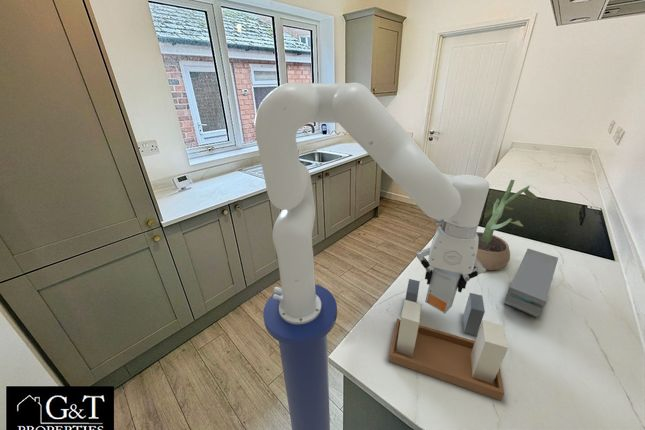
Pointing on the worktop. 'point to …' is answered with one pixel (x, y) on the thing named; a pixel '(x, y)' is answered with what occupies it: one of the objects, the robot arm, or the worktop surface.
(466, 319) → the grey carton
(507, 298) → the grey rectangular box
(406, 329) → the cream box left
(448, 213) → the robot arm
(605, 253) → the worktop surface
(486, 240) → the potted plant
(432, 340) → the tray
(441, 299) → the cosmetic box
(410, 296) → the grey carton
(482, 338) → the cream box right
